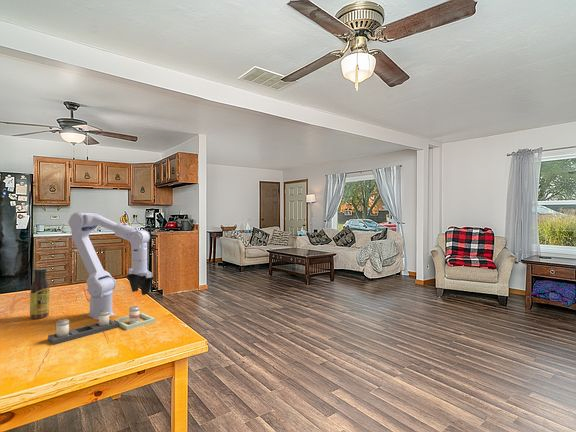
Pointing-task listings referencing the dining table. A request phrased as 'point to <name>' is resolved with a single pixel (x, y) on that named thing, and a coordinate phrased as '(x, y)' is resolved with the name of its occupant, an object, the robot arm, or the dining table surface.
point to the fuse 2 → (103, 318)
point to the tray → (131, 326)
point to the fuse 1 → (62, 328)
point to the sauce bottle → (39, 295)
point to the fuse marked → (134, 315)
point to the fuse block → (82, 332)
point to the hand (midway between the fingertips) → (139, 292)
